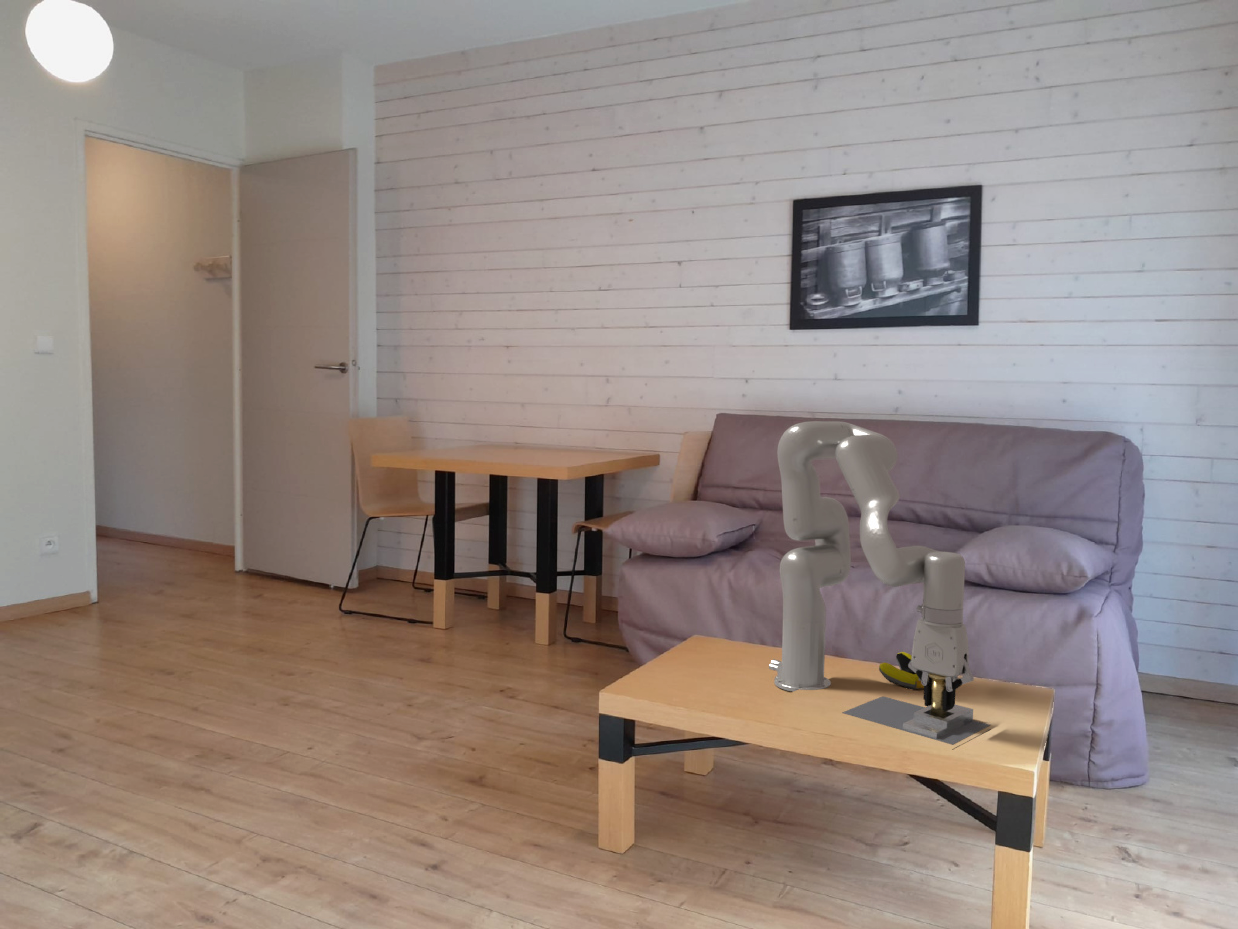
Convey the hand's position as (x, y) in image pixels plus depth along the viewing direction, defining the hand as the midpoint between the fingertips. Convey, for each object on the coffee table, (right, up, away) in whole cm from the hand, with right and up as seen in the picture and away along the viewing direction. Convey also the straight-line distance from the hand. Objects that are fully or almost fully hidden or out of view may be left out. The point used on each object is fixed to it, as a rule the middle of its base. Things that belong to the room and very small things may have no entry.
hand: (938, 706), depth 187 cm
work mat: (-4, -4, +4) cm, 7 cm away
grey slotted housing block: (0, -4, 0) cm, 4 cm away
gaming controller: (+4, -3, +32) cm, 32 cm away
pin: (0, -2, 0) cm, 2 cm away
